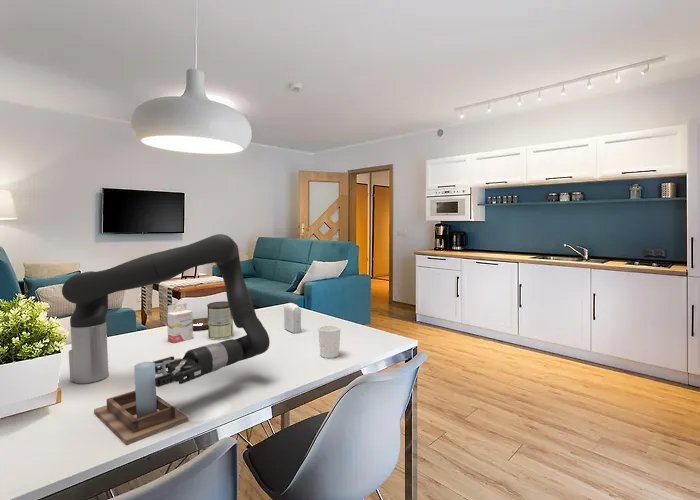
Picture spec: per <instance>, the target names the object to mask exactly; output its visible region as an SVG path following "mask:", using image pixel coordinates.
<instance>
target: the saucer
mask: <svg viewBox="0 0 700 500" xmlns="http://www.w3.org/2000/svg"><path fill="white" fill-rule="evenodd" d="M197 323H198V324H199V323H203V325H202V326H193V331H202V329H204V330H208V329H207V328H208V317H202V318H201V317H200V318H194V319H193V324H197Z"/></svg>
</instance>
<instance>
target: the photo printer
mask: <svg viewBox="0 0 700 500" xmlns="http://www.w3.org/2000/svg"><path fill="white" fill-rule="evenodd" d="M283 315H284V316H283V317H284V318H283V321H284V323H283V324H284V326H283V327H284V330H286V331H289V332H290V333H293V334H300V333H301V331H302V317H301V315H302V310H301V308H300V307H299V305H298V304H296V303H293V302H288V303H286V304H284V306H283Z"/></svg>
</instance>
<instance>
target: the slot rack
mask: <svg viewBox="0 0 700 500" xmlns="http://www.w3.org/2000/svg"><path fill="white" fill-rule="evenodd" d="M156 400H157V412H155V413H152V414H149V415H147V416H144V417H141V418H138V419H137V411H136V391H135V390H131V391H128V392H125V393H122V394H119V395H115V396H112V397H109V398H106V405H103V406H101V407H97V408H94V409H93V413H94V415H96V416H97V417H98V418H99V419H100V420H101V421H102V422H103V423H104V424H105V425H106V427H108V429H110V430H111V432H113V433H114V434H115V435H116V436H117V437H118V438H119V439H120V440H121V441H122V442H123V443H124V444H125V445H126V446H128V445H130V444H134V443H135V442H138V441H140V440H143V439H146V438H148V437H151V436H153V435H155V434H158V433H160V432H163V431H165V430H169V429H170V428H173V427H176V426H178V425H181V424H183V423H186V422H188V421H190V420H189V416H188V415H186V414H185V413H184V412H182V411H181V410H180V409H178V408H177V407H175V406H173V405H172V404H171V403H169V402H168V401H166V400H165V399H163V398H162V397H160V396H158V395H157V394H156Z"/></svg>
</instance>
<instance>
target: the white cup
mask: <svg viewBox="0 0 700 500" xmlns="http://www.w3.org/2000/svg"><path fill="white" fill-rule="evenodd" d="M318 341H319V354H320V355H319V356H320V357H322V358H325V359H334V358H338V357H339V356H340V344H341V343H340V341H341V327H340V326H338V325H333V324H332V325H322V326H319V327H318Z"/></svg>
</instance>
